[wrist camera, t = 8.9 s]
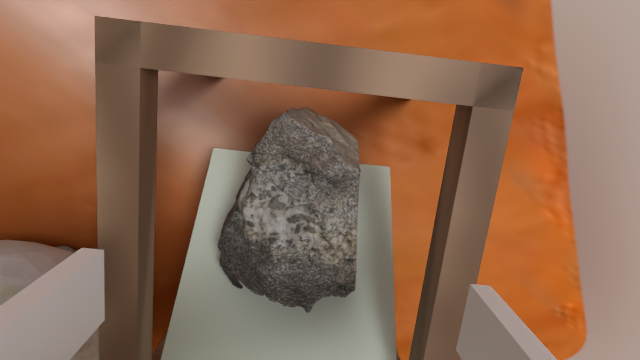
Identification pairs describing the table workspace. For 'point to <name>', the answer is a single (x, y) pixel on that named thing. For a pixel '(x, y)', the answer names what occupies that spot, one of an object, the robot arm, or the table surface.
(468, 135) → the stand
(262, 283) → the rock
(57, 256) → the ceramic pitcher
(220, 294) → the trapdoor
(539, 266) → the table surface
